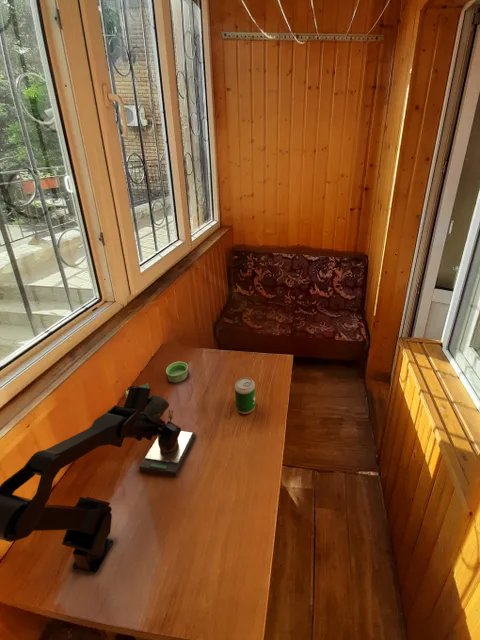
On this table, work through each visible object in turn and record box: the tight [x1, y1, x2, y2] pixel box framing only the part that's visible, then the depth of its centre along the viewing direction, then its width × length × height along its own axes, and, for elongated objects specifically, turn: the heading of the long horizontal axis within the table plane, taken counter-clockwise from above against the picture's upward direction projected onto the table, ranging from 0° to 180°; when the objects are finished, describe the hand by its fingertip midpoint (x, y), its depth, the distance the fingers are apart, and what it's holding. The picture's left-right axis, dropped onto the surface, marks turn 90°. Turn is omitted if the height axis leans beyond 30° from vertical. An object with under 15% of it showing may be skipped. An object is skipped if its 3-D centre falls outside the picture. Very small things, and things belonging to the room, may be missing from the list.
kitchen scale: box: [138, 430, 196, 478], centre depth 102 cm, size 14×12×2 cm
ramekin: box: [165, 361, 189, 384], centre depth 135 cm, size 9×9×4 cm
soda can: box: [234, 377, 257, 415], centre depth 118 cm, size 8×8×12 cm
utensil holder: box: [157, 408, 178, 453], centre depth 100 cm, size 6×6×12 cm
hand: (170, 426), depth 101 cm, fingers closed on utensil holder, 5 cm apart
